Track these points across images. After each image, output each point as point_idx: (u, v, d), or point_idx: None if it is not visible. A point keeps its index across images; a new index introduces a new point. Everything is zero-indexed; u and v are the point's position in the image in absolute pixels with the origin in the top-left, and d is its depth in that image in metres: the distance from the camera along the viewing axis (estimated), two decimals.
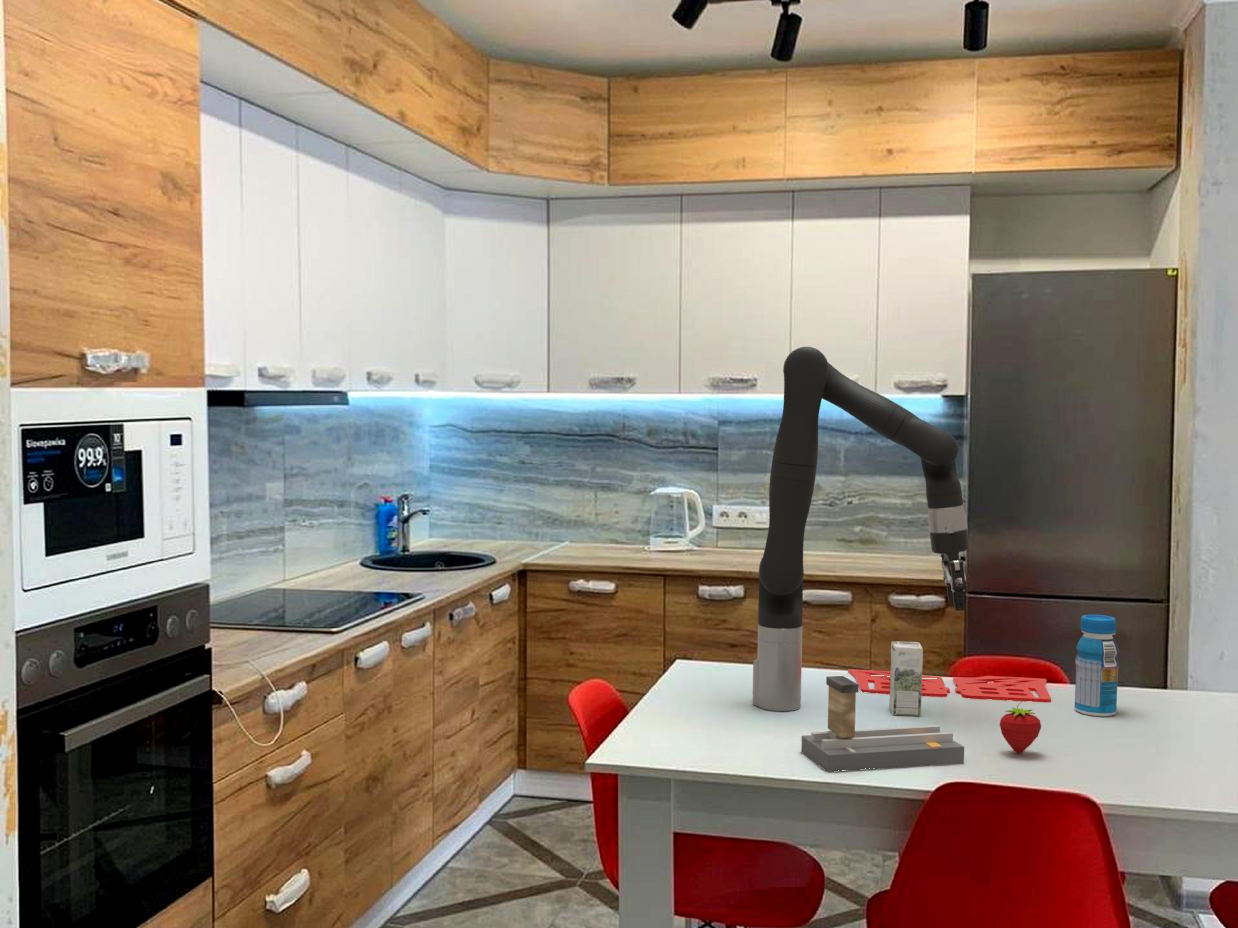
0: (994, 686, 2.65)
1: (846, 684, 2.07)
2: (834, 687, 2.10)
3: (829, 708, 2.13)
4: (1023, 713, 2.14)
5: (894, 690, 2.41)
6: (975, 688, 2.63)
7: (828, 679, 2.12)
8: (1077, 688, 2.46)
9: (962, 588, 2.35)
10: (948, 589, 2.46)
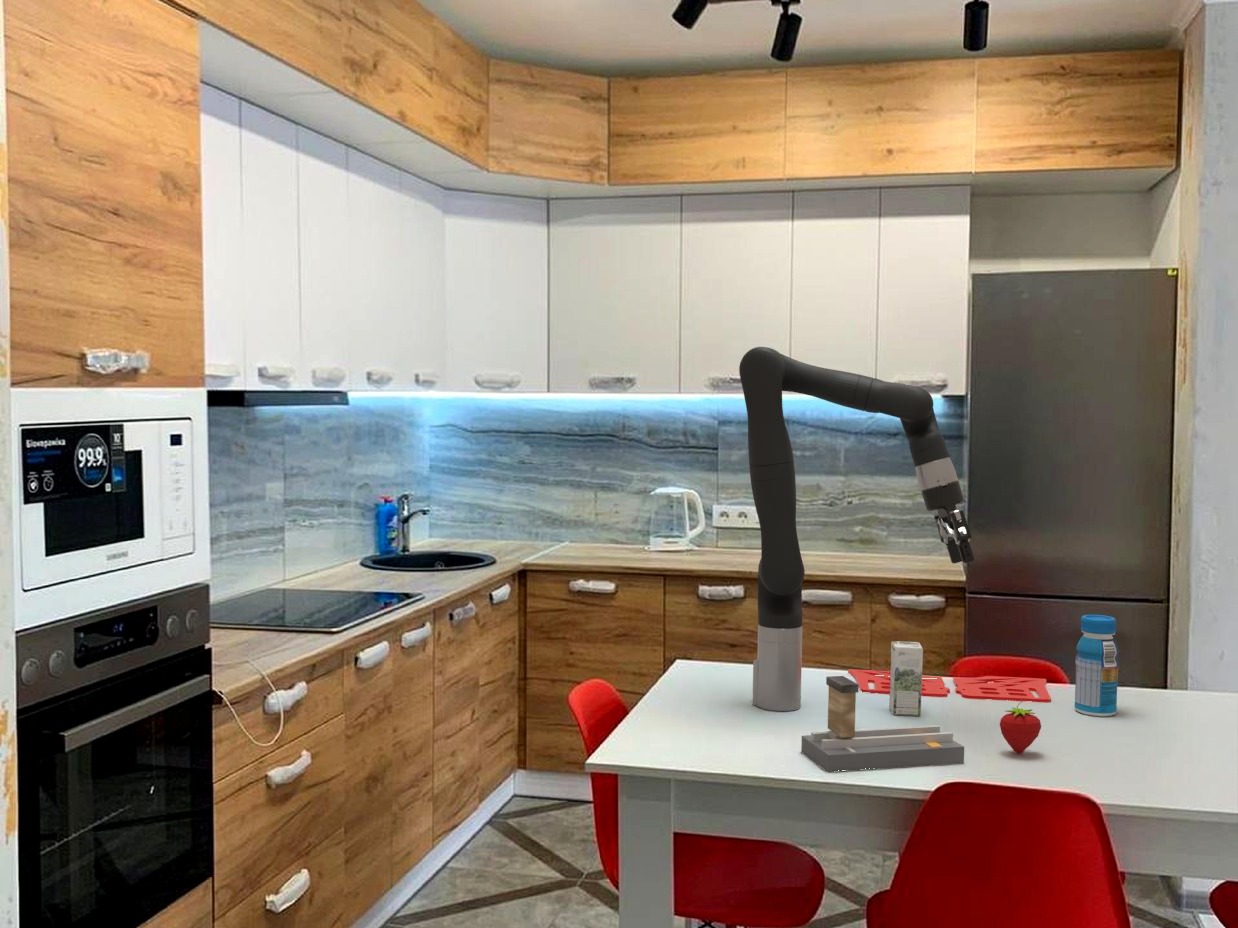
0: (994, 686, 2.65)
1: (846, 684, 2.07)
2: (834, 687, 2.10)
3: (829, 708, 2.13)
4: (1023, 713, 2.14)
5: (894, 690, 2.41)
6: (975, 688, 2.63)
7: (828, 679, 2.12)
8: (1077, 688, 2.46)
9: (967, 537, 2.28)
10: (949, 549, 2.39)
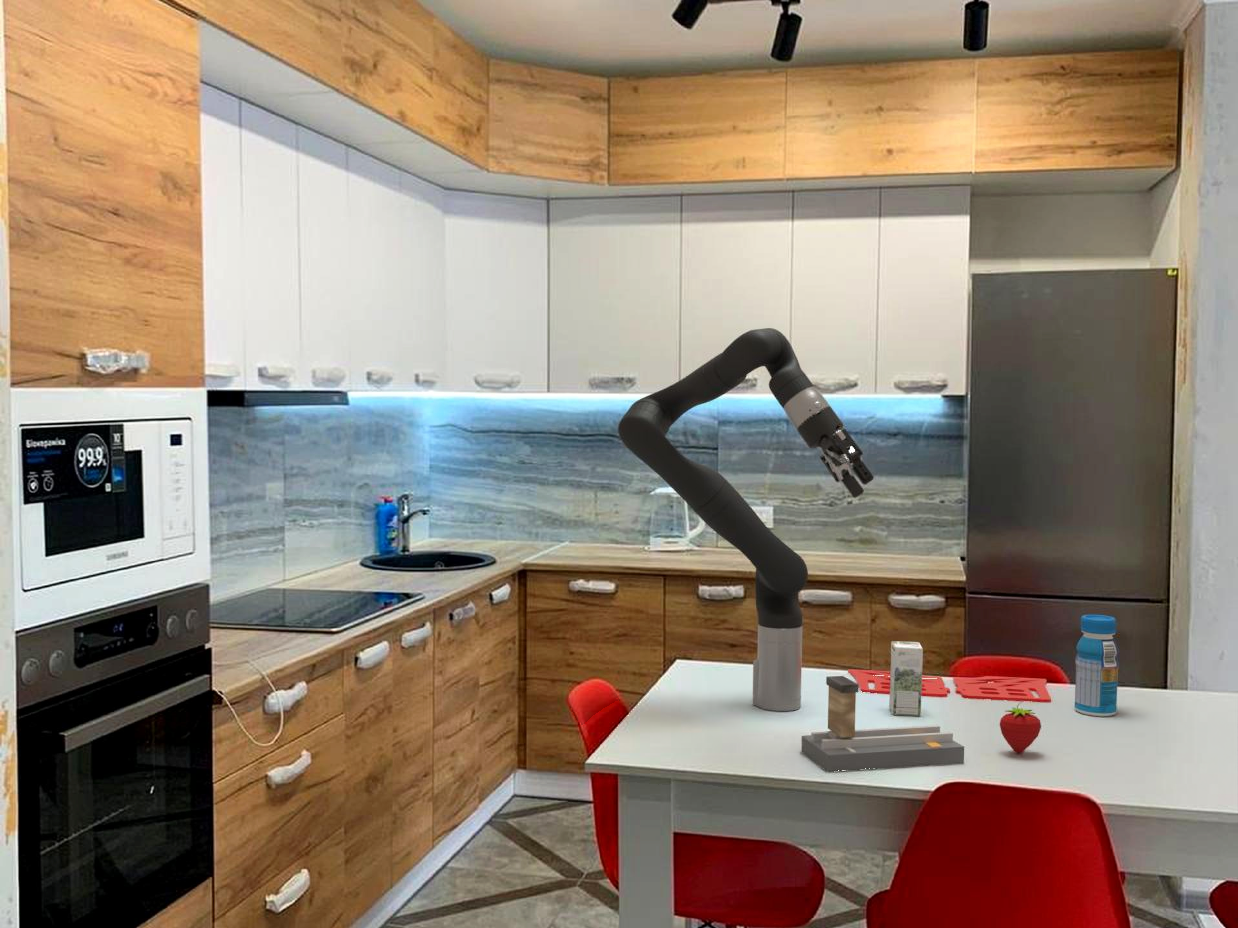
0: (994, 686, 2.65)
1: (846, 684, 2.07)
2: (834, 687, 2.10)
3: (829, 708, 2.13)
4: (1023, 713, 2.14)
5: (894, 690, 2.41)
6: (975, 688, 2.63)
7: (828, 679, 2.12)
8: (1077, 688, 2.46)
9: (858, 453, 2.08)
10: (846, 484, 2.18)
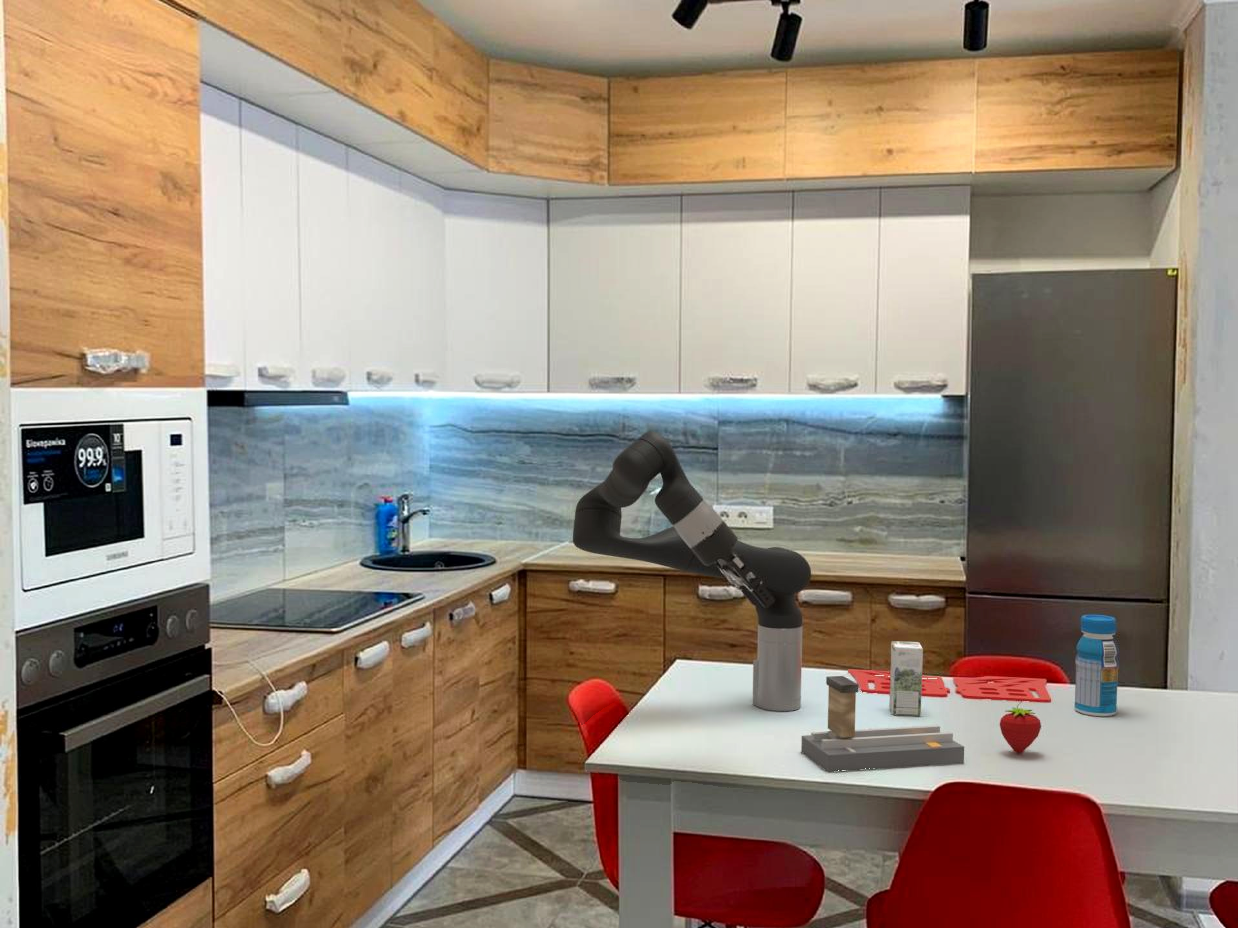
0: (994, 686, 2.65)
1: (846, 684, 2.07)
2: (834, 687, 2.10)
3: (829, 708, 2.13)
4: (1023, 713, 2.14)
5: (894, 690, 2.41)
6: (975, 688, 2.63)
7: (828, 679, 2.12)
8: (1077, 688, 2.46)
9: (758, 581, 1.98)
10: (744, 593, 2.09)
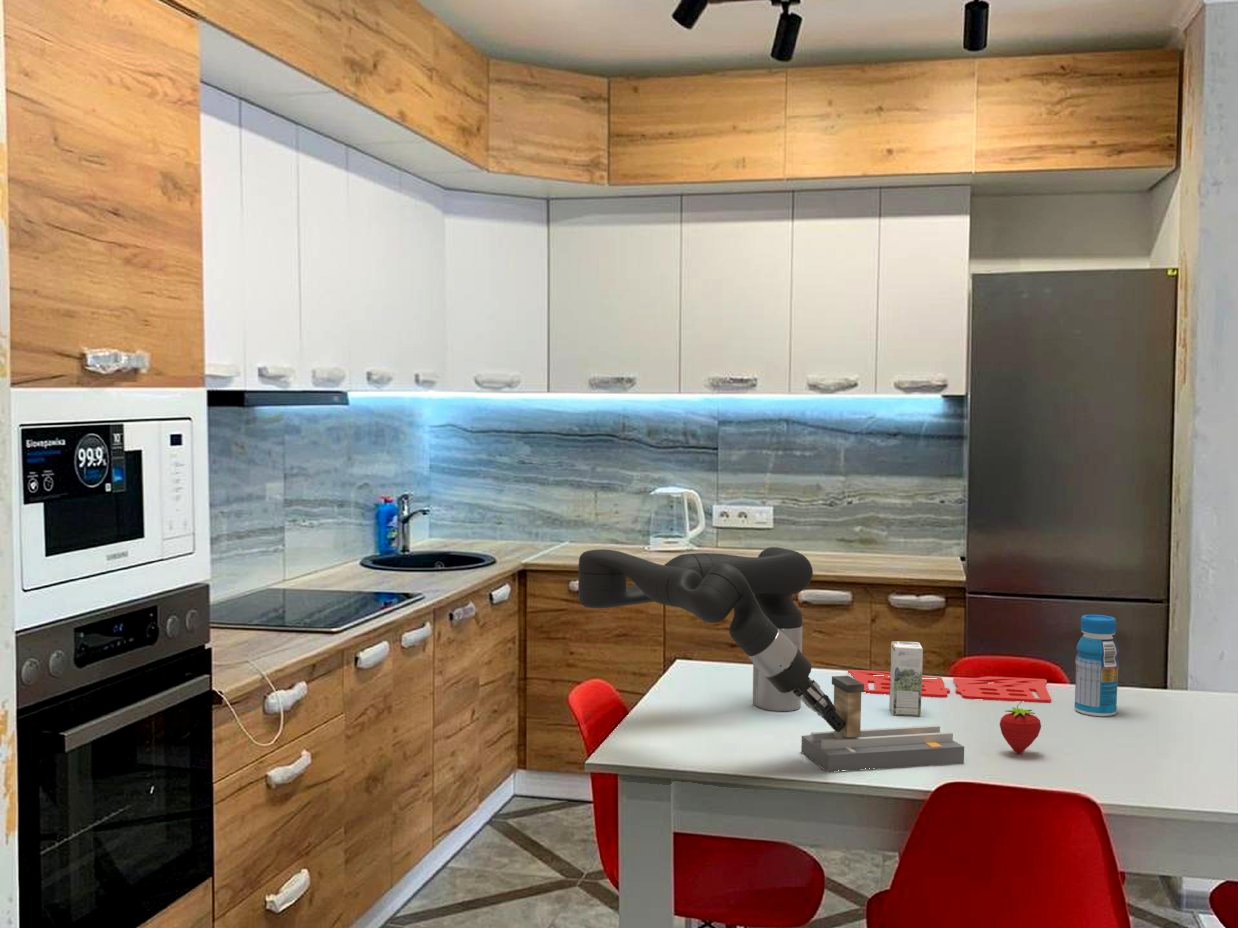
0: (994, 687, 2.65)
1: (852, 684, 2.07)
2: (840, 687, 2.10)
3: None
4: (1023, 713, 2.14)
5: (894, 690, 2.41)
6: (975, 689, 2.62)
7: (833, 679, 2.12)
8: (1077, 688, 2.46)
9: (832, 711, 2.05)
10: None
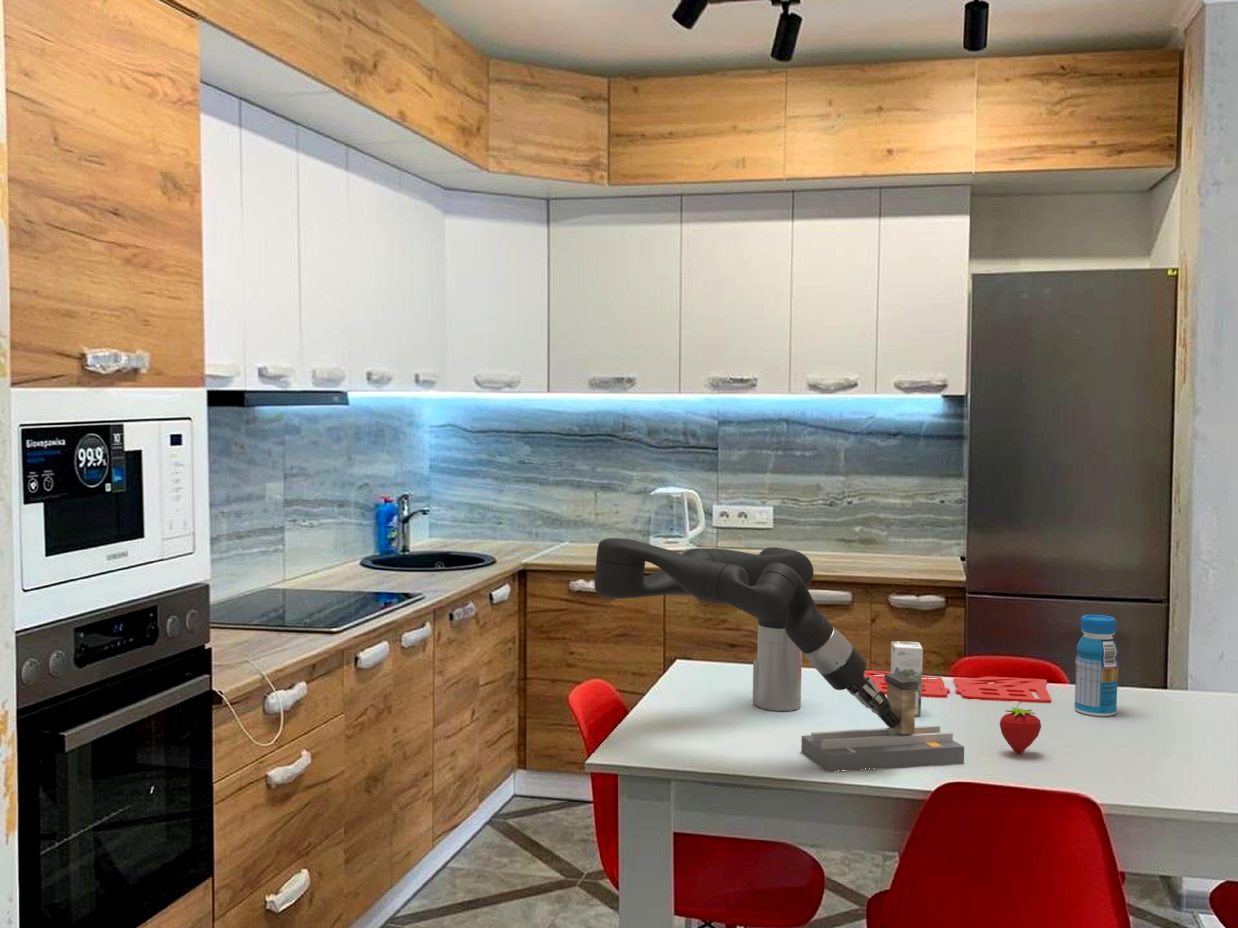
0: (994, 687, 2.64)
1: (906, 681, 2.10)
2: (893, 684, 2.12)
3: None
4: (1023, 713, 2.14)
5: None
6: (975, 689, 2.62)
7: (887, 676, 2.15)
8: (1077, 688, 2.46)
9: (887, 708, 2.08)
10: (880, 716, 2.11)
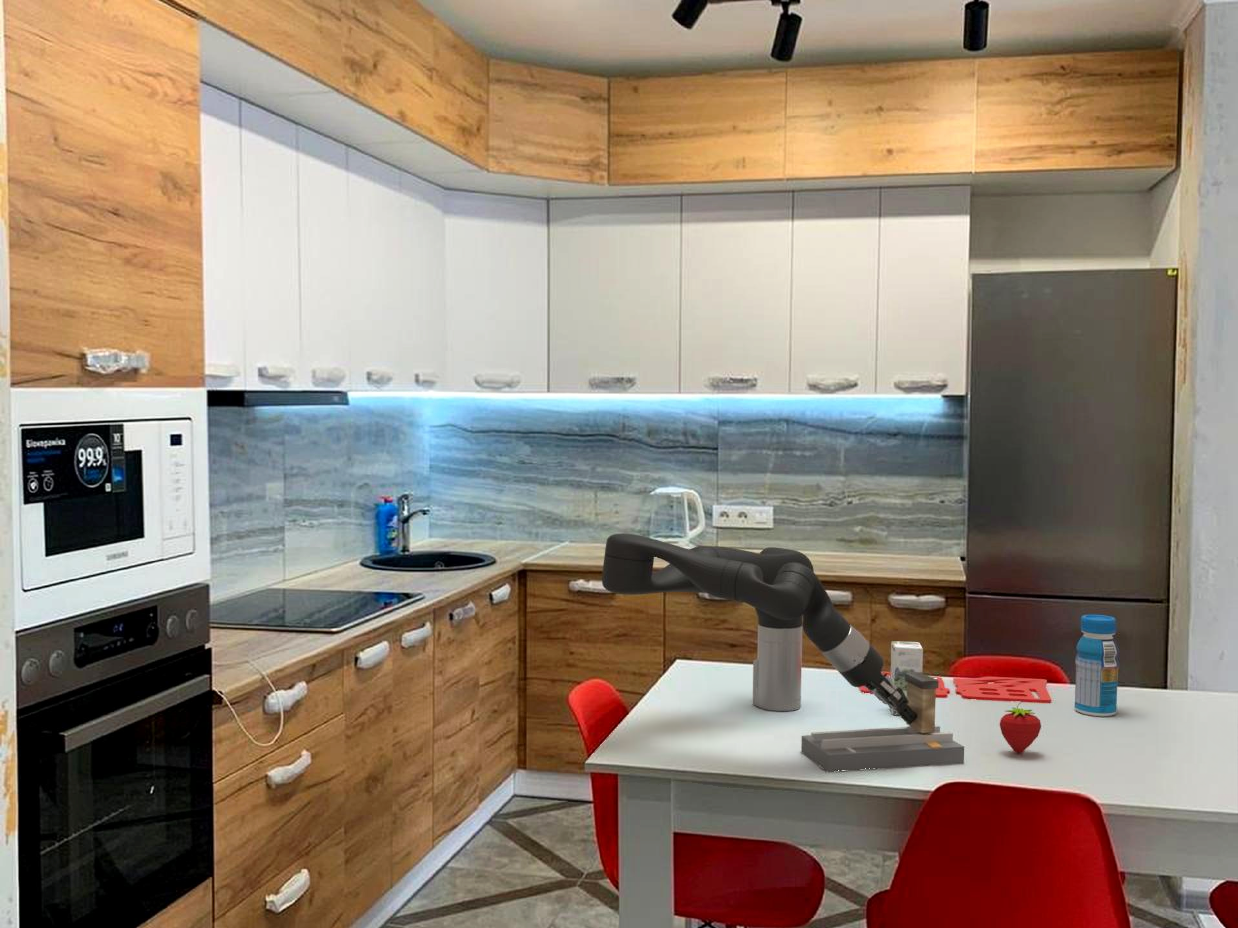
0: (994, 687, 2.64)
1: (927, 680, 2.11)
2: (914, 683, 2.13)
3: (908, 704, 2.16)
4: (1023, 713, 2.14)
5: None
6: (975, 689, 2.62)
7: (907, 675, 2.16)
8: (1077, 688, 2.46)
9: (905, 704, 2.10)
10: (898, 712, 2.13)
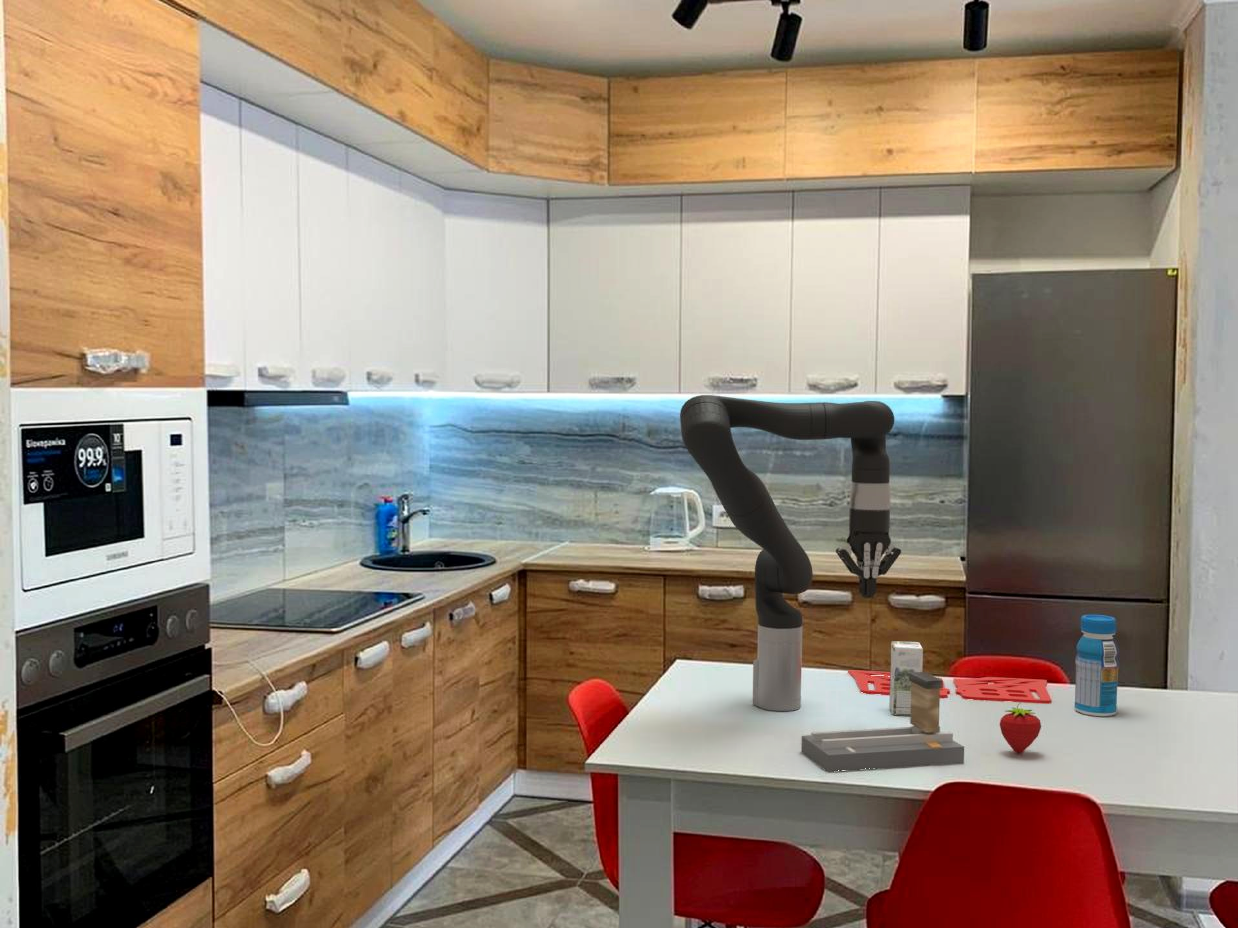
0: (994, 687, 2.64)
1: (931, 680, 2.11)
2: (918, 683, 2.14)
3: (912, 704, 2.17)
4: (1023, 713, 2.14)
5: (894, 690, 2.41)
6: (975, 689, 2.62)
7: (911, 675, 2.16)
8: (1077, 688, 2.46)
9: None
10: None
